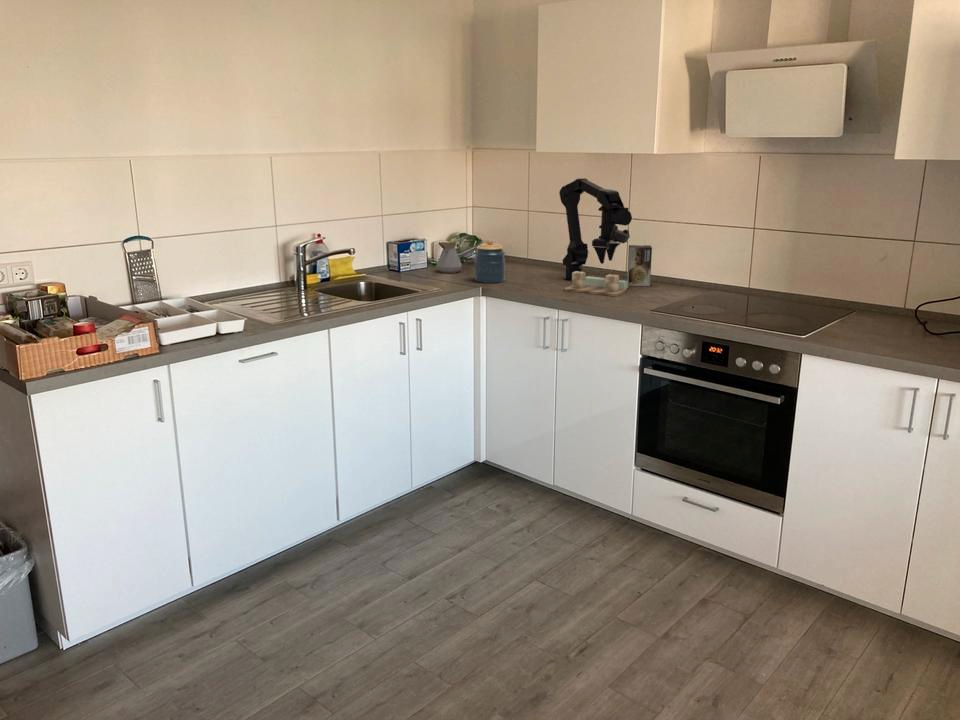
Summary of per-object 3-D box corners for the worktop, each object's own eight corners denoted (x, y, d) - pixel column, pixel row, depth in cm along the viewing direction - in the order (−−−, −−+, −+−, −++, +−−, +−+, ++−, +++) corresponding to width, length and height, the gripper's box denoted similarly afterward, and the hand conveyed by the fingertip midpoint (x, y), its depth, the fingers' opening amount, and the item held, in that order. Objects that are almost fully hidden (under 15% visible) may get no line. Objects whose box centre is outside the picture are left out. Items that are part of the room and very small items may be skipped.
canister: (503, 278, 331) (504, 236, 326) (506, 283, 319) (506, 240, 314) (473, 277, 331) (474, 236, 326) (474, 283, 318) (474, 240, 313)
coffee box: (648, 283, 320) (651, 245, 315) (650, 286, 314) (652, 247, 309) (626, 283, 321) (628, 244, 316) (627, 286, 315) (629, 246, 310)
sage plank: (583, 286, 316) (583, 277, 315) (587, 284, 319) (587, 276, 318) (623, 291, 306) (623, 282, 305) (627, 289, 309) (628, 280, 308)
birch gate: (563, 290, 304) (564, 273, 302) (574, 286, 313) (575, 269, 311) (616, 296, 293) (617, 278, 291) (626, 292, 302) (627, 274, 300)
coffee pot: (440, 269, 352) (440, 236, 348) (464, 270, 349) (464, 237, 345) (426, 277, 332) (425, 242, 328) (451, 278, 329) (451, 243, 325)
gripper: (619, 226, 294) (617, 267, 298) (635, 222, 309) (633, 260, 314) (592, 224, 299) (590, 264, 303) (609, 220, 315) (607, 258, 319)
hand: (606, 262), depth 310 cm, fingers open, 9 cm apart
